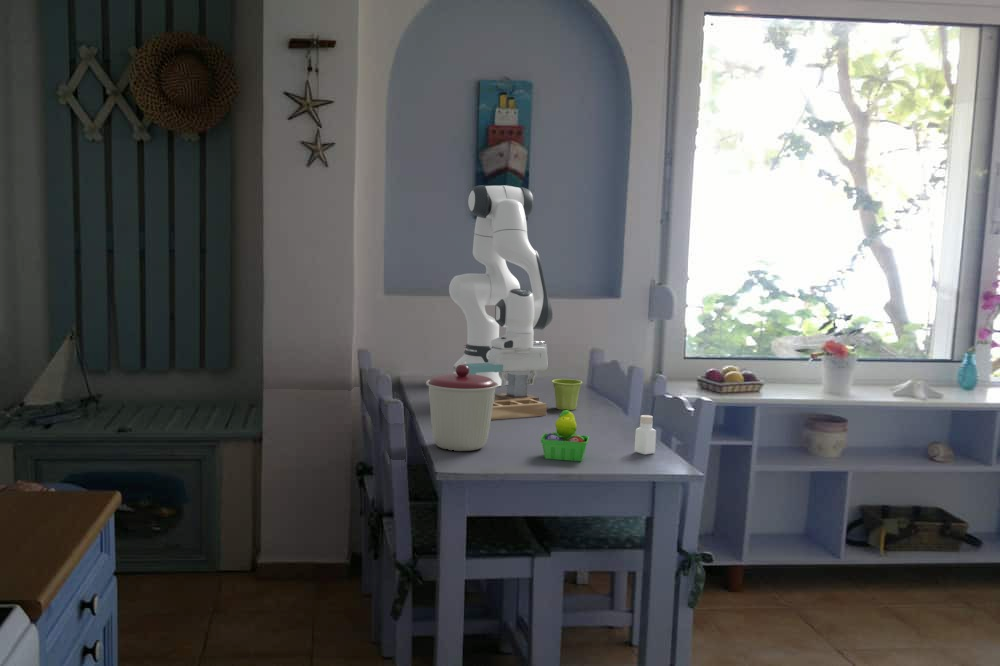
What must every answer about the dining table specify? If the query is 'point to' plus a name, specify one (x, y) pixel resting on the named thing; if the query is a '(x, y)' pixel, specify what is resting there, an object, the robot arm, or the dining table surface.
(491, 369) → the plate
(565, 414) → the fruit basket
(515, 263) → the robot arm
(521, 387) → the grey rectangular block
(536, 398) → the socket frame
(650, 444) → the salt shaker
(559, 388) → the plant pot
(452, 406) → the canister
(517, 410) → the rack
